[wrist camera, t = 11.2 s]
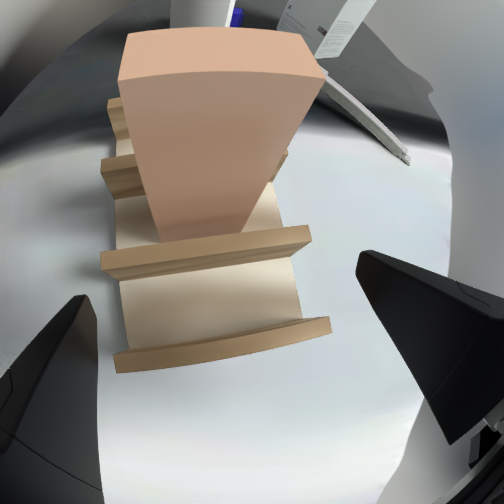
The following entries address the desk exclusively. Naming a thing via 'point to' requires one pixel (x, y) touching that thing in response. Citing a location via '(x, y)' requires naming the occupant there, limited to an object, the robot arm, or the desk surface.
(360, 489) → the desk surface
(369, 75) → the desk surface
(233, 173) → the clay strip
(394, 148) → the caliper
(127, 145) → the rack
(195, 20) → the spray bottle
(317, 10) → the skincare box
